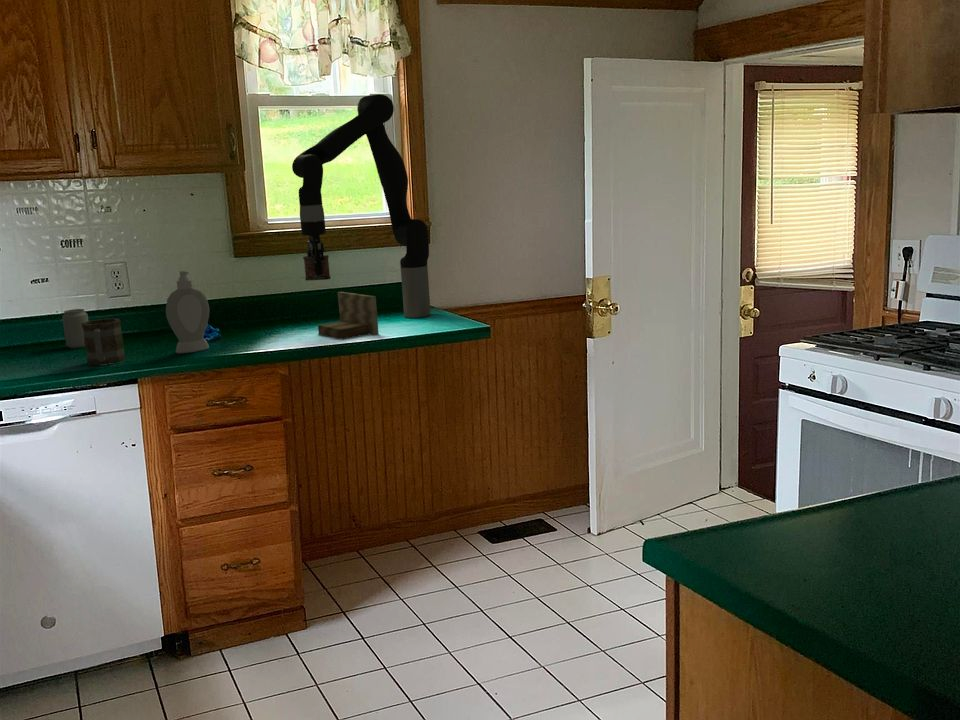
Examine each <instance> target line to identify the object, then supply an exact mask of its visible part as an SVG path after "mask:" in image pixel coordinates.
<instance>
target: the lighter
mask: <svg viewBox="0 0 960 720" xmlns="http://www.w3.org/2000/svg"><path fill="white" fill-rule="evenodd" d="M326 250H327V249H326V248H325V247H323V253H325V252H327V251H326ZM310 253H311V249H310V250H309V249H308V248H307V249H306V254H307V255H306V256H303V257H302V258H303V262H304V272H305V273H304V274H305V277H304V279H305V281H326V280H330V279H331V275H330V274H331V272H330V266H329V265H330V264H329V263H330V262H329V258H330V257H329V254H327V255H326V254H323V257H324V261H323V262H322V269H323V274H322V275H316V273H315V263H314V257H313V256H312V254H310ZM314 253H315V252H314ZM318 257H320V256H317V258H318Z"/></svg>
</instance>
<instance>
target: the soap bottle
mask: <svg viewBox="0 0 960 720" xmlns="http://www.w3.org/2000/svg"><path fill="white" fill-rule="evenodd" d="M178 272H179V277H178V280H176V289H175V290H174V291H172V292H170V294H169V296H168V297H167V299H166V306H165V317H166V320H167V322H168V325H170V328H171V330H172V331H173V333H174V334H175V336H176V338H177V340H178V342H177V344H176V347H175V353H176V354H187V353H196V352H202V351H206V350H208V349H210V346H209V343H208V342H207V340H206V339H205V338H204V336H205V333H206V331H207V326H208V322H209V317H210V305H209V301H208V299H207V297H206V295H205V293H204V292H202V290H201V289H199V288H195V287H193V280H192V279H190V276H188V275H189V271H188V270H187V269H184V270H179V271H178Z"/></svg>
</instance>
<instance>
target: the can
mask: <svg viewBox="0 0 960 720" xmlns="http://www.w3.org/2000/svg"><path fill="white" fill-rule="evenodd" d="M61 318H62V324H63V325H62V326H63V332H64V339H65V345H66V347H68V348H69V349H72V350H75V349H84V348H85V344H84V332H83V328H82V324H81V323H84V322H87V321H89V316H88V313H87V312H86V310H85V309H84V308H73V309H68V310H65V311H63V315H62V317H61Z"/></svg>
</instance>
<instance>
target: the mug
mask: <svg viewBox="0 0 960 720" xmlns="http://www.w3.org/2000/svg"><path fill="white" fill-rule="evenodd" d="M121 323H122V320H121V319H120V318H99V319H92V320H88V321H87V322H84V323H81V324H82V328H83V332H84V344H85V347H84V348H85V352H86V361H87V363H88V364H90V365H101V364H102V365H103V364H109V363H116V362H120V361H123V360H125V359H126V360H127V357H126V353H125V345H124V336H123V332H122V324H121ZM123 362H124V361H123ZM87 363H86V364H87ZM88 364H87V365H88ZM90 365H89V366H90Z"/></svg>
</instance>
